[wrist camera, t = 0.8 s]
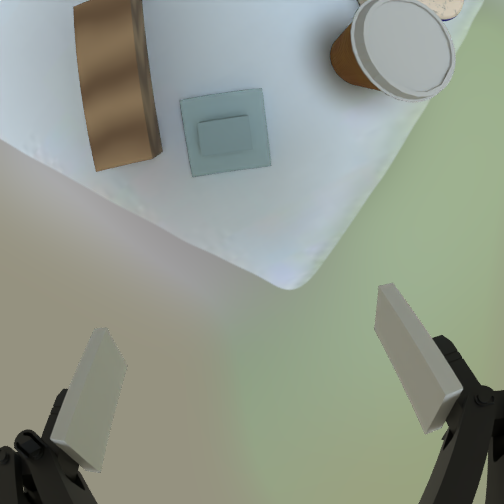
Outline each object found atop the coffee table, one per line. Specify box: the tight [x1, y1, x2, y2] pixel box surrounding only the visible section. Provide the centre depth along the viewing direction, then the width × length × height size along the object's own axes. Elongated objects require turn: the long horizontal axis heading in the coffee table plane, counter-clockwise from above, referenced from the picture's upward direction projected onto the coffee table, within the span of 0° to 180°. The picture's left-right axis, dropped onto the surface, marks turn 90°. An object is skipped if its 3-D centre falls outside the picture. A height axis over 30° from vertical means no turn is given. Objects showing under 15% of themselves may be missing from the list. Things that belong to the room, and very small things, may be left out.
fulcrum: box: [180, 88, 271, 177], centre depth 29 cm, size 8×8×6 cm
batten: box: [73, 0, 163, 172], centre depth 26 cm, size 18×6×5 cm, turn 7°
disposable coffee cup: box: [330, 0, 455, 102], centre depth 23 cm, size 10×10×12 cm
